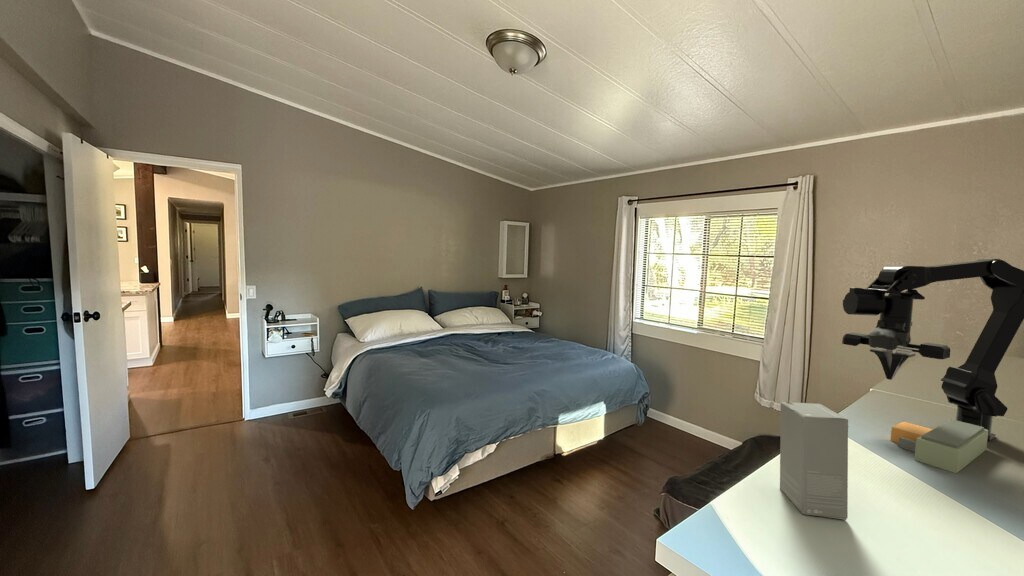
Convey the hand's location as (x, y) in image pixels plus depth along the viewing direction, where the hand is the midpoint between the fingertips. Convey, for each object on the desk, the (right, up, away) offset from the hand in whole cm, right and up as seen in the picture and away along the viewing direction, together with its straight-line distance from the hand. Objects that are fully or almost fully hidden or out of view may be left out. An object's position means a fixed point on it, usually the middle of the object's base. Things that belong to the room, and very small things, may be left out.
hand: (889, 379), depth 101 cm
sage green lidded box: (-1, -13, -12) cm, 18 cm away
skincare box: (-45, -13, -34) cm, 58 cm away
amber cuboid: (-2, -13, -8) cm, 15 cm away
